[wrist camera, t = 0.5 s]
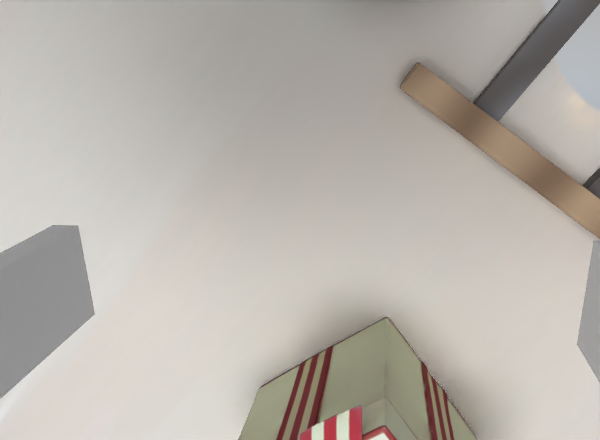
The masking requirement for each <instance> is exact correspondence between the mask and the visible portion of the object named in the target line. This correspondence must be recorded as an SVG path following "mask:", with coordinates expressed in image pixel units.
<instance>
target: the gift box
mask: <svg viewBox="0 0 600 440" xmlns="http://www.w3.org/2000/svg"><path fill="white" fill-rule="evenodd" d="M238 440H477V438H476V437H475V435H474V434H473V432H472V431H471V430H470V428H469V427H468V425H467V424H466V423H465V421H464V420H463V418H462V417H461V416H460V414H459V413H458V412H457V410H456V409H455V408H454V406H453V405H452V403H451V402H450V401H449V399H448V398H447V395H446V393H445V392H444V390H443V389H442V388H441V387H440V386H439V385H438V384H437V383H436V381H435V380H434V379H433V378H432V377H431V375H430V373H429V371H428V370H427V368H426V366H425V365H424V364H423V363H422V362H421V361H420V360H419V358H418V357H417V355H416V354H415V353H414V351H413V350H412V348H411V347H410V346H409V344H408V343H407V342H406V340H405V339H404V337H403V336H402V335H401V333H400V332H399V331H398V330H397V328H396V327H395V326H394V324H393V323H392V322H391V320H390V319H389V318H387V317H386V318H384V319H382V320H380V321H378V322H377V323H375V324H373V325H371V326H369V327H367V328H366V329H364V330H362V331H360V332H358V333H356V334H355V335H353V336H351V337H349V338H347V339H346V340H344V341H342V342H340V343H338V344H336V345H334V346H332V347H330V348H328V349H326V350H324V351H323V352H321V353H319V354H317V355H316V356H314V357H312V358H310V359H309V360H307V361H305V362H304V363H302V364H300V365H299V366H297V367H295V368H294V369H292V370H290V371H288V372H287V373H285V374H283V375H281V376H279V377H278V378H276V379H274V380H272V381H271V382H269V383H267V384H266V385H264V386H262V387H261V388H260V389H259V390H258V393H257V395H256V398H255V400H254V403H253V405H252V408H251V410H250V413H249V415H248V417H247V420H246V422H245V425H244V427H243V429H242V432H241V435H240V437H239V439H238Z"/></svg>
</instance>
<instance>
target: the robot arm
mask: <svg viewBox="0 0 600 440" xmlns="http://www.w3.org/2000/svg"><path fill="white" fill-rule="evenodd" d="M94 314H95V313H94V308H93V302H92V297H91V292H90V286H89V281H88V276H87V270H86V265H85V260H84V254H83V249H82V244H81V238H80V233H79V228H78V226H68V225H53V226H51V227H49V228H47V229H45V230H43V231H41V232H39V233H37V234H36V235H34V236H32V237H30V238H28V239H26V240H24V241H22V242H21V243H19V244H17V245H15V246H13V247H11V248H9V249H7V250H5V251H4V252H2V253H0V399H1V398H2V397H3V396H4V395H5V394H6V393H7V392H8V391H10V390H11V389H12V388H13V387H14V386H15V385H16V384H17V383H18V382H20V381H21V380H22V379H23V378H24V377H25V376H26V375H27V374H29V373H30V372H31V371H32V370H33V369H34V368H35V367H36V366H37V365H39V364H40V363H41V362H42V361H43V360H44V359H45V358H46V357H47V356H49V355H50V354H51V353H52V352H53V351H54V350H55V349H56V348H57V347H59V346H60V345H61V344H62V343H63V342H64V341H65V340H66V339H67V338H69V337H70V336H71V335H72V334H73V333H74V332H75V331H76V330H78V329H79V328H80V327H81V326H82V325H83V324H84V323H85V322H86V321H88V320H89V319H90V318H91V317H92V316H93V315H94ZM577 345H578V347H579V348H580V350H581V352H582V354H583V355H584V357H585V359H586V360H587V362H588V364H589V365H590V367H591V369H592V370H593V372H594V374H595V375H596V377H597V379H598V380H599V382H600V241H594V242H593V248H592V255H591V261H590V267H589V273H588V279H587V286H586V292H585V298H584V304H583V310H582V317H581V323H580V329H579V335H578V341H577Z"/></svg>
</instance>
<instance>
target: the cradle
mask: <svg viewBox="0 0 600 440" xmlns="http://www.w3.org/2000/svg"><path fill="white" fill-rule="evenodd" d="M599 3H600V0H558V2H557V3H556V4H555V5H554V7H553V8H552V9H551V10H550V11H549V13H548V14H547V15H546V16H545V17H544V19H543V20H542V21H541V22H540V23H539V25H538V26H537V27H536V28H535V30H534V31H533V32H532V33H531V34H530V36H529V37H528V38H527V39H526V40H525V42H524V43H523V44H522V45H521V46H520V48H519V49H518V50H517V51H516V52H515V54H514V55H513V56H512V57H511V59H510V60H509V61H508V62H507V63H506V65H505V66H504V67H503V68H502V69H501V71H500V72H499V73H498V74H497V75H496V77H495V78H494V79H493V80H492V82H491V83H490V84H489V85H488V86H487V88H486V89H485V90H484V91H483V92H482V94H481V95H480V96H479V97H478V98H477V100H476V101H475V102H474V103H472V102H471V101H469V100H468V99H467V98H465V97H464V96H463V95H461V94H460V93H459V92H457V91H456V90H455V89H453V88H452V87H451V86H449V85H448V84H447V83H445V82H444V81H443V80H441V79H440V78H439V77H437V76H436V75H435V74H433V73H432V72H431V71H430V70H428V69H427V68H426V67H424V66H423V65H422V64H420V63H418V62H417V64H416V65H415V66H414V68H413V69H412V70H411V72H410V73H409V74H408V76H407V77H406V78H405V80H404V81H403V82H402V84H401V85H400V89H401V90H403V91H404V92H405V93H407V94H408V95H409V96H411V97H412V98H413V99H415V100H416V101H417V102H419V103H420V104H421V105H423V106H424V107H425V108H427V109H428V110H429V111H431V112H432V113H433V114H435V115H436V116H437V117H439V118H440V119H441V120H443V121H444V122H445V123H447V124H448V125H449V126H451V127H452V128H453V129H455V130H456V131H457V132H459V133H460V134H461V135H463V136H464V137H465V138H466V139H468V140H469V141H470V142H472V143H473V144H474V145H476V146H477V147H478V148H480V149H481V150H482V151H484V152H485V153H486V154H488V155H489V156H490V157H492V158H493V159H494V160H496V161H497V162H498V163H500V164H501V165H502V166H504V167H505V168H506V169H508V170H509V171H510V172H512V173H513V174H514V175H516V176H517V177H518V178H520V179H521V180H522V181H524V182H525V183H526V184H528V185H529V186H530V187H532V188H533V189H534V190H536V191H537V192H538V193H540V194H541V195H542V196H544V197H545V198H546V199H548V200H549V201H550V202H552V203H553V204H554V205H556V206H557V207H558V208H560V209H561V210H562V211H563V212H565V213H566V214H567V215H569V216H570V217H571V218H573V219H574V220H575V221H577V222H578V223H579V224H581V225H582V226H583V227H585V228H586V229H587V230H589V231H590V232H591V233H593V234H594V235H595V236H597V237H598V238H599V239H600V169H599V170H598V171H597V172H596V173H595V174H594V175H593V176H592V177H591V178H590V179H589V180H588V181H587V182H586V183H585V184H584V185H583V186H582V185H580V184H579V183H578V182H576V181H575V180H574V179H572V178H571V177H570V176H568V175H567V174H566V173H564V172H563V171H562V170H561V169H559V168H558V167H557V166H555V165H554V164H553V163H551V162H550V161H549V160H547V159H546V158H545V157H543V156H542V155H541V154H539V153H538V152H537V151H535V150H534V149H533V148H531V147H530V146H529V145H527V144H526V143H525V142H523V141H522V140H521V139H519V138H518V137H517V136H516V135H514V134H513V133H512V132H510V131H509V130H508V129H506V128H505V127H504V126H502V125H501V124H500V123H498V121H499V120H500V119H501V118H502V116H503V115H504V114H505V113H506V112H507V111H508V109H509V108H510V107H511V106H512V105H513V104H514V102H515V101H516V100H517V99H518V98H519V97H520V95H521V94H522V93H523V92H524V91H525V90H526V88H527V87H528V86H529V85H530V84H531V83H532V81H533V80H534V79H535V78H536V77H537V76H538V74H539V73H540V72H541V71H542V70H543V69H544V68H545V66H546V65H547V64H548V63H549V62H550V61H551V59H552V58H553V57H554V56H555V55H556V54H557V52H558V51H559V50H560V49H561V48H562V47H563V45H564V44H565V43H566V42H567V41H568V40H569V38H570V37H571V36H572V35H573V34H574V33H575V31H576V30H577V29H578V28H579V27H580V26H581V25H582V23H583V22H584V21H585V20H586V19H587V18H588V16H589V15H590V14H591V13H592V12H593V11H594V9H595V8H596V7H597V6H598V5H599Z"/></svg>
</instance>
